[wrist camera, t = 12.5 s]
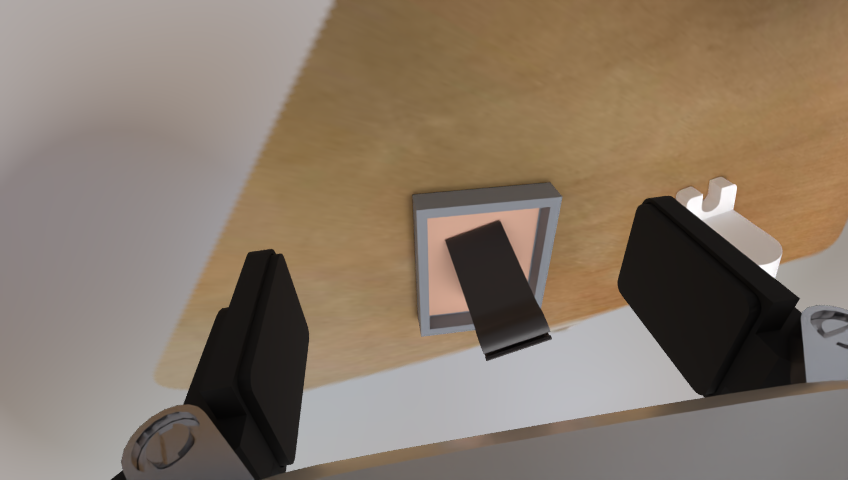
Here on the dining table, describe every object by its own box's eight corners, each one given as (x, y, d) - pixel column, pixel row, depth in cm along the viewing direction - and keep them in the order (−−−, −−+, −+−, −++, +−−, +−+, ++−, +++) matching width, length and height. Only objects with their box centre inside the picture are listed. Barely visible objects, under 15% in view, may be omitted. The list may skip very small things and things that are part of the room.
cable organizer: (671, 258, 51) (731, 317, 43) (676, 191, 45) (746, 244, 37) (714, 244, 51) (783, 301, 42) (724, 174, 45) (806, 225, 37)
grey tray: (550, 182, 42) (562, 196, 40) (529, 304, 52) (538, 322, 50) (412, 194, 41) (416, 210, 38) (418, 317, 51) (421, 336, 48)
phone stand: (444, 238, 43) (471, 324, 33) (499, 219, 43) (543, 299, 33) (467, 297, 48) (495, 385, 39) (516, 280, 48) (558, 365, 38)
